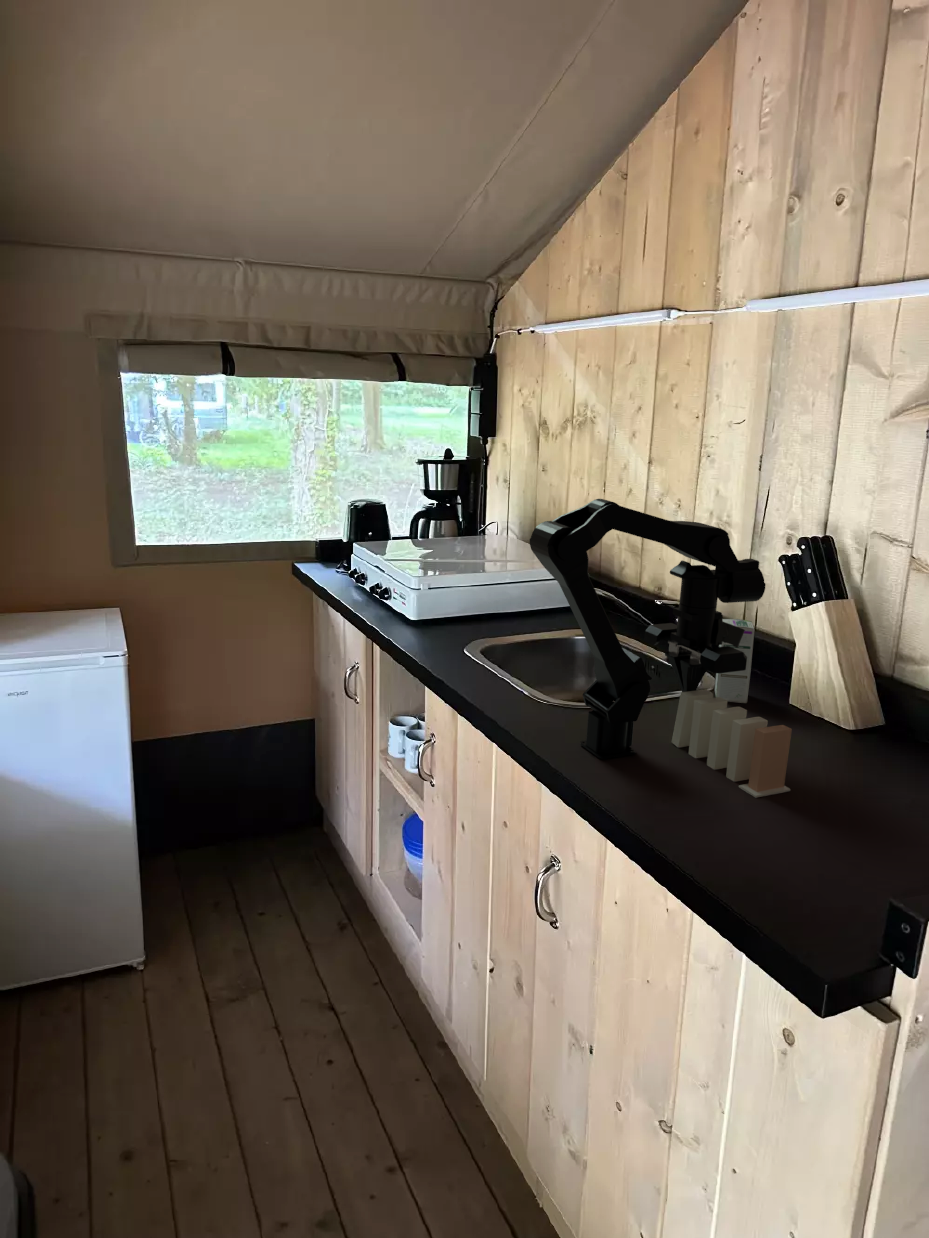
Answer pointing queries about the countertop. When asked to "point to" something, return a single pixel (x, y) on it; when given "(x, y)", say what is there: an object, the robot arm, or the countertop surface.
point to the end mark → (763, 793)
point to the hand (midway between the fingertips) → (688, 697)
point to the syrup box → (737, 682)
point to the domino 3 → (722, 735)
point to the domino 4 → (742, 747)
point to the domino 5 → (769, 757)
